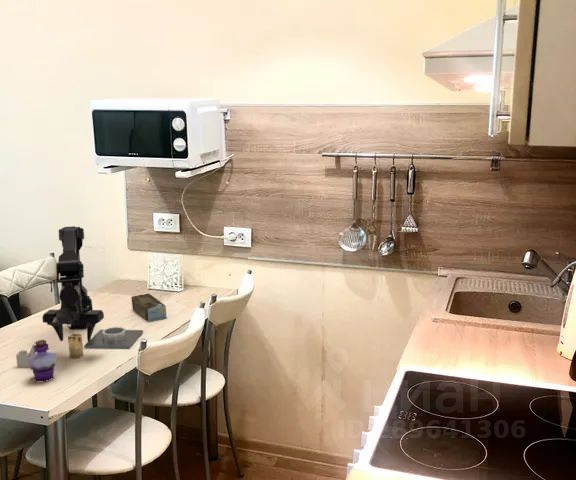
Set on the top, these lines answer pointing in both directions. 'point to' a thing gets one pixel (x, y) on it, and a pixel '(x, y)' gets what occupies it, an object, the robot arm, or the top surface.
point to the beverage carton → (149, 307)
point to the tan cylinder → (75, 346)
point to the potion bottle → (42, 361)
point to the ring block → (114, 338)
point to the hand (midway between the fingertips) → (75, 340)
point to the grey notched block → (24, 357)
